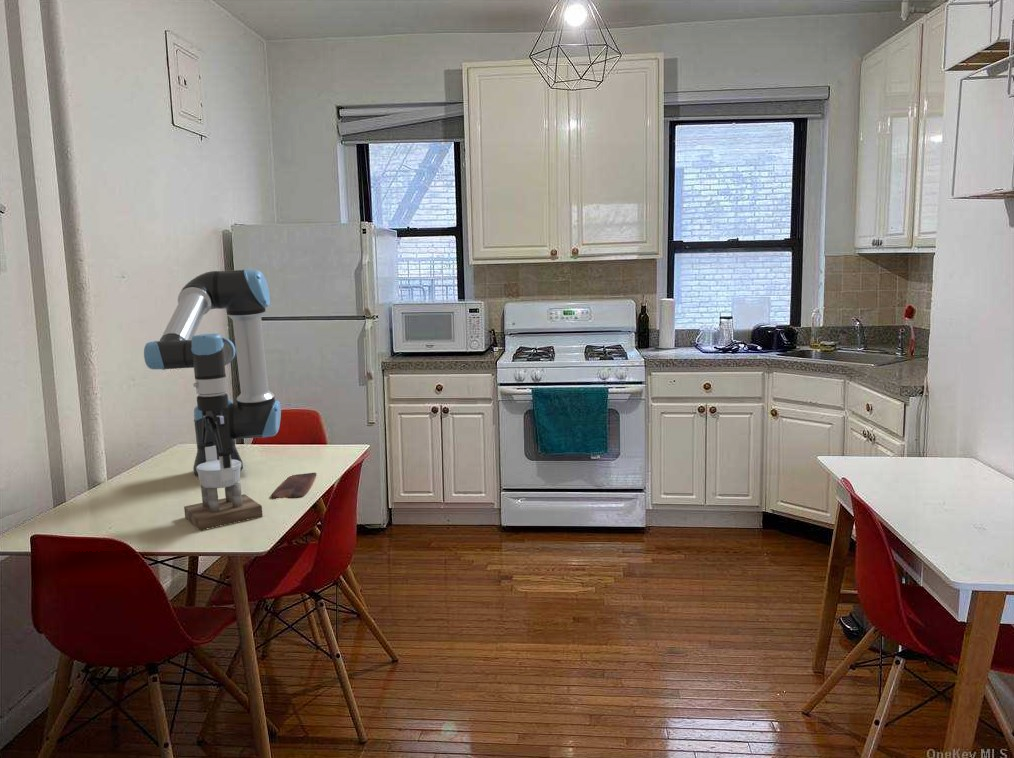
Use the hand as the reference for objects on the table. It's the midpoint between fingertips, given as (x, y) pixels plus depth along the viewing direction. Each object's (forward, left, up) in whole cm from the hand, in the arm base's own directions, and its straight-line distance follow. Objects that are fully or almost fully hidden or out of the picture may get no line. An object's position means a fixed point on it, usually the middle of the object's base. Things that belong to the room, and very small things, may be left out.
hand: (219, 475), depth 202 cm
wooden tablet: (-16, +26, -12) cm, 33 cm away
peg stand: (0, 0, -11) cm, 11 cm away
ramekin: (0, 0, -3) cm, 3 cm away
